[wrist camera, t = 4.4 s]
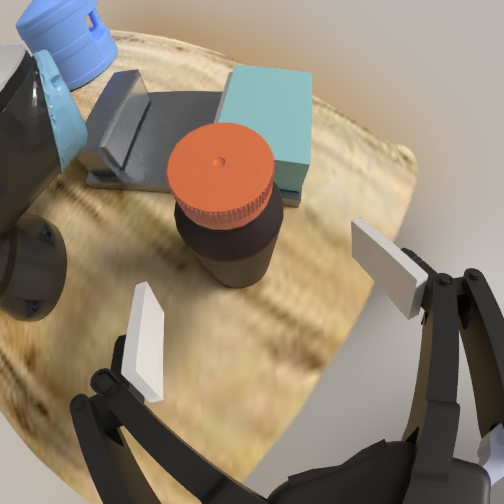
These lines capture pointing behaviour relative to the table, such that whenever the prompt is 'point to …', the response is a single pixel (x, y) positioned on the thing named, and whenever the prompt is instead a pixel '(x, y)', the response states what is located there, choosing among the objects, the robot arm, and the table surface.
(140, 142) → the vise base
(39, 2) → the water jug
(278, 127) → the block
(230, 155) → the vinegar
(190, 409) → the table surface
